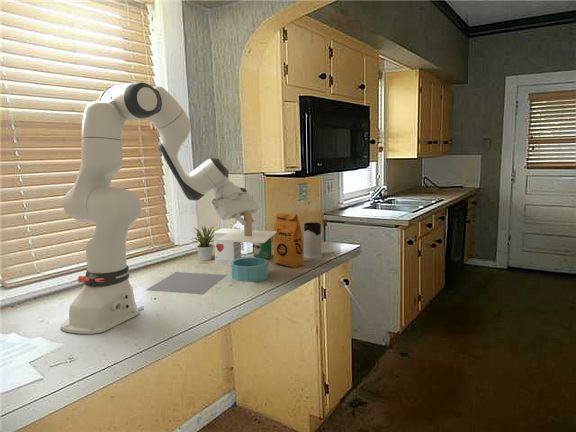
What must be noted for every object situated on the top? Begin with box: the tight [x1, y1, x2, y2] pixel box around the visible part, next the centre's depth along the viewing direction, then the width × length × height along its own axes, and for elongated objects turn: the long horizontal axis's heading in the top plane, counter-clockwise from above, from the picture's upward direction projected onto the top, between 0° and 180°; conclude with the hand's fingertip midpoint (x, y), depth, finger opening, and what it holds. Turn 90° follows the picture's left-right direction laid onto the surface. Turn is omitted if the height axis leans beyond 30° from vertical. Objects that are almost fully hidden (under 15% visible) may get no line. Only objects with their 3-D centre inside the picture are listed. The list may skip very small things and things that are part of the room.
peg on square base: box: [217, 211, 277, 244], centre depth 160 cm, size 18×18×10 cm
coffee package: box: [272, 212, 304, 269], centre depth 178 cm, size 10×12×22 cm
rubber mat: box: [145, 271, 227, 295], centre depth 156 cm, size 22×22×1 cm
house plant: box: [191, 224, 219, 262], centre depth 189 cm, size 14×14×16 cm
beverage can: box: [253, 237, 273, 261], centre depth 190 cm, size 8×8×12 cm
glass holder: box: [303, 221, 324, 259], centre depth 194 cm, size 9×14×15 cm, turn 147°
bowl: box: [230, 256, 269, 283], centre depth 163 cm, size 14×14×6 cm
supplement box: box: [213, 227, 242, 267], centre depth 181 cm, size 9×9×15 cm
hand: (249, 223), depth 159 cm, fingers closed on peg on square base, 3 cm apart
